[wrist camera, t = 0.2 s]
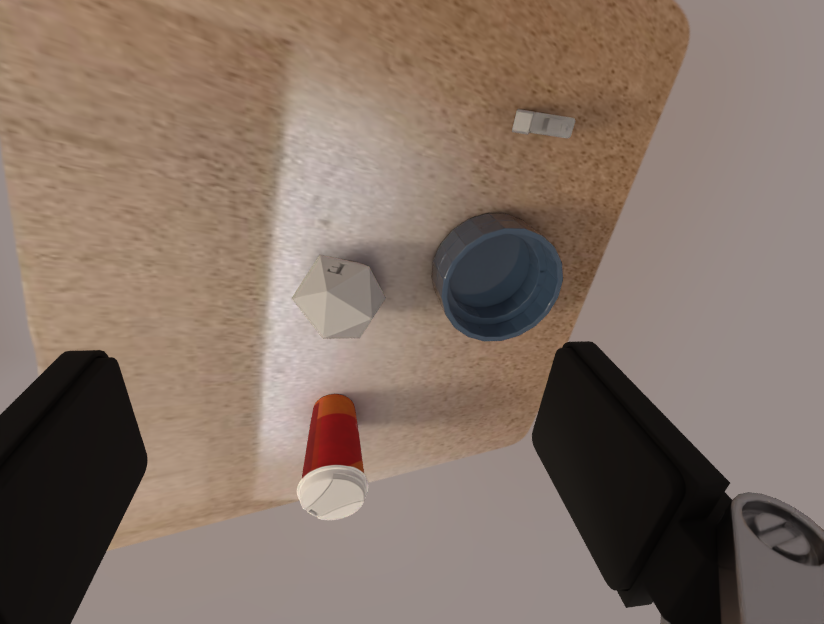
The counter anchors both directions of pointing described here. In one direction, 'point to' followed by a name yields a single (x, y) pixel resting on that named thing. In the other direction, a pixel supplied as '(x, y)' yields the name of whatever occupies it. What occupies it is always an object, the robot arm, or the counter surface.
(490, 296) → the bowl
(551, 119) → the lighter
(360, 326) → the grey polyhedron
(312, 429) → the paper cup
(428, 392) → the counter surface
